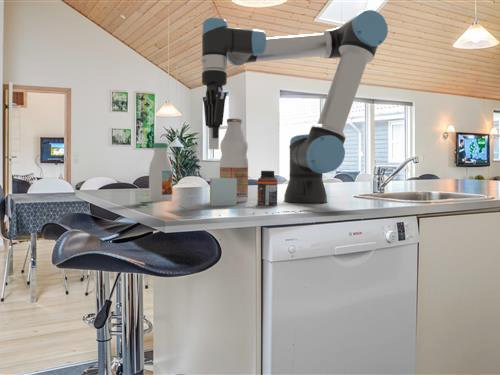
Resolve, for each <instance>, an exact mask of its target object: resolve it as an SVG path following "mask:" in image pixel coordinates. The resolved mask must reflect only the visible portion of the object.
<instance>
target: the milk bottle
mask: <svg viewBox="0 0 500 375" xmlns="http://www.w3.org/2000/svg"><path fill="white" fill-rule="evenodd" d="M168 147H169V145H168V143H165V142H154V143H153V150H154V153H153V156H152V159H151V160H150V163H149V168H148V169H149V170H148V171H149V172H148V180H149V181H148V201H149V202H150V203H151V202H152V203H153V202H155V203H156V202H173V166H172V163H171V162H172V161H171V160H170V157H169V155H168Z"/></svg>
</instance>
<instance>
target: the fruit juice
mask: <svg viewBox="0 0 500 375" xmlns="http://www.w3.org/2000/svg"><path fill="white" fill-rule="evenodd" d="M242 122H243V121H242V119H241V118H227V120H226V125H227V127H226V130H225V133H224V136H223V138H222V140H221V141H220V146H219V149H220V153H221V157H220V159H219V178H237V203H242V202H248V200H249V159H248V156H247V153H248V151H249V150H248V148H249V144H248V141H247V140H246V137H245V135H244V132H243V129H242V126H241V125H242V124H243V123H242Z"/></svg>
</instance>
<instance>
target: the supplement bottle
mask: <svg viewBox="0 0 500 375" xmlns="http://www.w3.org/2000/svg"><path fill="white" fill-rule="evenodd" d="M277 205H278V179H277V177H275V171H274V170H261V172H260V177H259V178H258V179H257V206H263V207H264V206H265V207H269V206H271V207H272V206H273V207H274V206H277Z"/></svg>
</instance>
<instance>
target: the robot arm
mask: <svg viewBox="0 0 500 375" xmlns="http://www.w3.org/2000/svg"><path fill="white" fill-rule="evenodd" d="M387 23H388V22H386V19H385V17H384V16H383V15H382V14H381V13H380V12H378V11H376V10H373V9H366V10H363V11H361V12H357V13H356V14H355V15H354V17H352V18H351V19H350V20H348V21H346V22H345V23H344V24H342V25H340V26H338V27H336V28H335V27H334V28H332V29H324V30H323V31H322V33H313V34H312V33H311V34H298V35H297V34H296V35H285V36H284V35H283V36H274V37H272V36H271V37H267V34H266V31H264V30H260V29H256V28H253V29H252V28H250V29H249V28H240V27H238V28H237V27H230V26H229V25H228V21H227V20H226V19H225V18H221V17H208V18H206V19H205V20H204V21H203V23H202V34H201V40H202V43H201V44H202V46H201V47H202V48H201V50H202V58H201V59H200V62H201V63H202V64H201V66H202V72H201V84H202V85H203V86H206V91H205V96H202V102H203V109H204V121H205V122H204V123H205V127H207V128H208V150H219V149H220V146H219V144H220V138H219V137H220V127H221V126H223V122H224V113H225V106H226V99H227V98H226V97H227V92H226V91H223V87H224V86H226V85H227V84H228V83H227V82H228V81H227V79H228V78H227V77H228V76H227V71H228V69H227V68H228V62H229V63H230V64H231V65H233V66H236V67H238V66H239V67H240V66H242V65H244V64H248V63H259V62H270V61H279V60H280V61H281V60H290V59H291V60H292V59H302V58H313V57H315V58H316V57H322V58H324V59H339V62H338V65H337V67H336V70H335V72H334V76H333V79H332V81H331V84H330V88H329V90H328V93H327V95H326V98H325V101H324V105H323V107H322V110H321V112H320V116H319V119H318V121H317V123H316V124H314V125H311V126H310V127H311V128H310V129H309V132H308V133H305V134H300V135H299V134H297V135H294V136H293V137H291V138H290V141H289V146H288V147H289V180H288V183H287V187H286V188H285V189H286V190H285V193H284V198H283V199H284V202H287V203H295V204H296V203H297V204H298V203H299V204H304V203H305V204H320V203H327V202H328V195H327V190H326V188H325V185H324V182H323V181H324V180H323V174H327V173H331V172H334V171H336V170H337V169H338V168H340V166H341V165H342V164H343V162H344V160H345V155H346V150H345V149H346V148H345V147H344V144H345V141H346V136H345V134H344V130H345V128H346V123H347V121H348V118H349V115H350V112H351V109H352V106H353V104H354V101H355V97H356V94H357V93H358V89H359V86H360V84H361V81H362V79H363V75H364V72H365V69H366V67H367V64H369V63H370V62H373V60H374V57H375V55H376V53H377V50H378V47H379V46H380V45H383V42H384V41H385V40H386V38H387V36H388V32H389V30H388V28H389V27H388V24H387Z"/></svg>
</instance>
